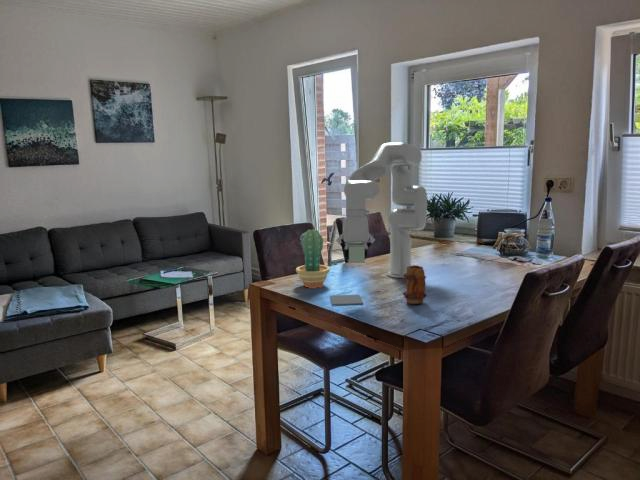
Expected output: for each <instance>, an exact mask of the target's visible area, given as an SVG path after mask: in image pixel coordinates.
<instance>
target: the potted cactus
mask: <svg viewBox="0 0 640 480" xmlns="http://www.w3.org/2000/svg"><path fill="white" fill-rule="evenodd" d="M299 241H300V245H302V250H303V253H304V265H300V266H297V267H295V268H296V269H295V271H296V273H297V275H298V277H299V280H300V281H301V282H302V284H303V287H304V286H305V287H309V288H308V289H318V288H317V287H320V288H323V287H324V282H325V281H326V280H327V276H328V274H329V273H330V269H331V267H330V266H328V265H325V264H321V254H322V251H323V247H324V239H323V236H322V234H320V232H319V231H318V230H317V229H314V228H313V229H307V231H305V232H304V233H302V234H301V235H300V237H299ZM322 286H323V287H322ZM305 287H304V288H305Z"/></svg>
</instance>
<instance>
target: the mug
mask: <svg viewBox="0 0 640 480" xmlns="http://www.w3.org/2000/svg"><path fill="white" fill-rule="evenodd" d="M404 277H405V278H404V279H405V281H406V285H405V286H406V287H405V288H406V291H404V292H403V294H402V295H403V296H404V298H405V300H406V303H408V304H410V305H420V304H424V299H425V298H426V297H427V296H428V295H427V294H426V278H427V276H426V274H425V270H424V267H423V266H420V265H411V266H407V273H406V274H404Z"/></svg>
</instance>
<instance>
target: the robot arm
mask: <svg viewBox="0 0 640 480" xmlns="http://www.w3.org/2000/svg"><path fill="white" fill-rule="evenodd" d="M421 151H422V150H421V149H420V148H419V147H418V146H416V145H414V144H411V143H407V142H386V143H383V144H381V145H380V146H379V147H378V148H377V150H376V152H375V154H374V155H373V156H372V158H371V159H370V160H369V162H368V163H366V164H364V165H363V166H361V167H358V168H357V169H356V170H354V171H352V173H351V174H350V176H349V177H348V178H347V180H346V182H345V184H344V188H343V192H344V195H345V216H344V217H343V221H342V233H340V235H339V236H338V237H337V239H336V242H337V243H338V244H339V245H340V246H341V247H342V248H343V249H344V258H346V260H347V261H348V259H349V250H348V244H350V243H360V242H362V243H363V244H365V260H366V258H367V257H368V249H369V247H371V245H372V244H374V242H375V241H376V238H374V236H373V235H372V234H371V233H370V231H369V221H368V217H367V216H366V215H369V214H370V210H367V209H366V201H367V200H368V201H369V200H374V199H376V198H377V197H378V196H379V194H380V192H381V189H380V185H379V183H377V182H376V181H375V180H378V179H382V178H383V177H385V176H386V175H387V173H388V171H389V170H390V173H391V175H392V176H391V177H392V179H391V180H392V181H391V182H392V183H391V184H392V185H391V186H392V187H391V188H392V189H391V190H392V191H391V198H392V203H393V205H395V206H401V207H413V209H412V208H395V209H392V210H391V211H389V213H388V216H387V217H388V219H387V220H388V221H387V222H388V227H389V234H390V238H389V239H390V243H389V244H390V245H389V246H390V250H389V251H390V252H389V253H390V262H389V263H390V265H389V266H390V269H389V271H387V272H386V275H387V277H391V278H395V279H396V278H397V279H398V278H400V279H405V277H404V274H406V273H407V266H412V265H411V264H412V261H411V260H412V259H411V258H412V256H411V255H412V239H411V238H412V237H411V235H410V234H409V233H410V232H408V231H422V230H424V229H425V228H426V224H427V213H428V211H427V208H428V193H427V190H426V188H425V187H424V186H422V185H412V173H411V171H410V169H409V168H408V167H417V166H418V165H419V164H420V163H421V161H422V152H421ZM342 241H344V242H342Z"/></svg>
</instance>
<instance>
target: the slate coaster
mask: <svg viewBox="0 0 640 480" xmlns="http://www.w3.org/2000/svg"><path fill="white" fill-rule="evenodd" d="M330 298H331V299H330ZM329 299H330V303H331V302H332V303H331V306H332V305H336V306H354V305H355V306H357V305H358V306H359V305H360V306H361V305H364V301H363V300H362V298H361V295H360V294H342V295H340V294H337V295H336V294H335V295H334V294H333V295H329Z"/></svg>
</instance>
